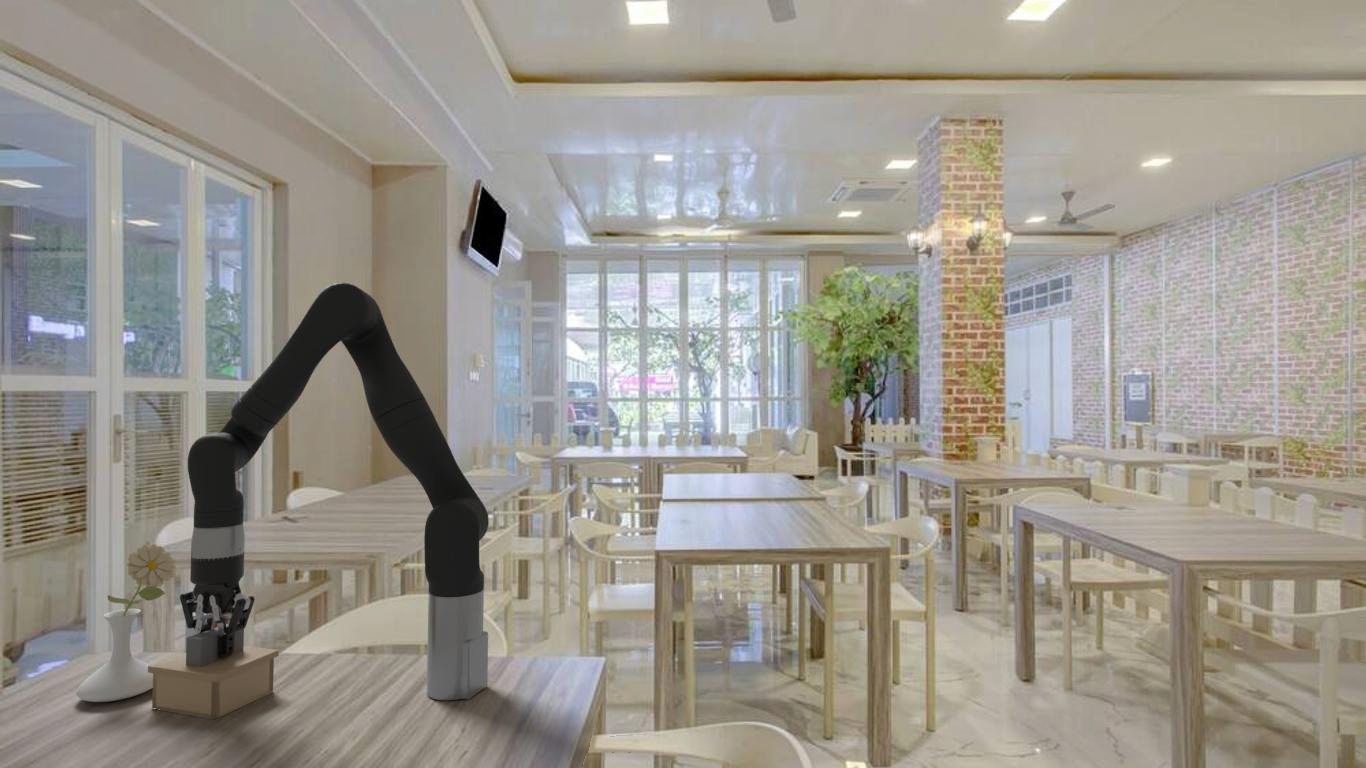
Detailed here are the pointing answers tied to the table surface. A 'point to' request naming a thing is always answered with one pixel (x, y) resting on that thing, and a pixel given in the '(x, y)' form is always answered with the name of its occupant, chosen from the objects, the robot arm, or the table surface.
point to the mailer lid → (212, 658)
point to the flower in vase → (129, 631)
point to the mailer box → (212, 692)
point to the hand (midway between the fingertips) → (215, 654)
